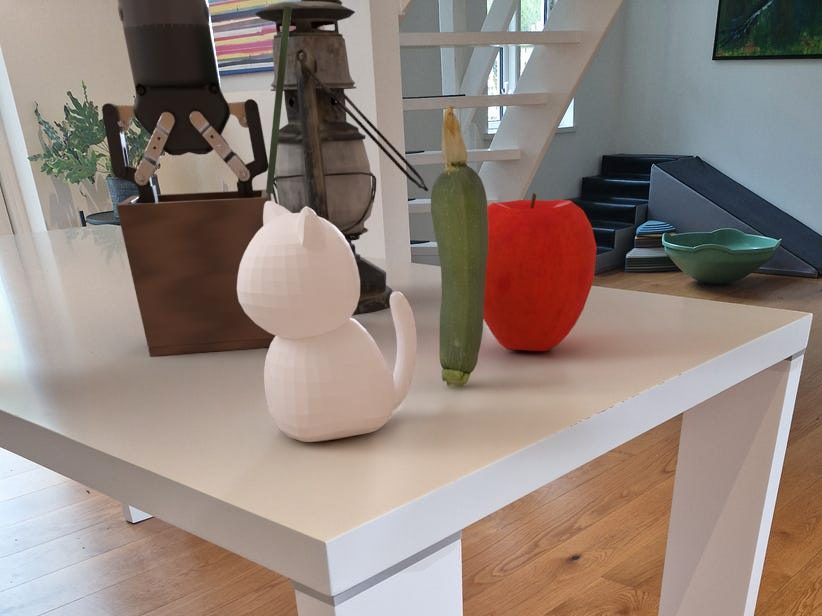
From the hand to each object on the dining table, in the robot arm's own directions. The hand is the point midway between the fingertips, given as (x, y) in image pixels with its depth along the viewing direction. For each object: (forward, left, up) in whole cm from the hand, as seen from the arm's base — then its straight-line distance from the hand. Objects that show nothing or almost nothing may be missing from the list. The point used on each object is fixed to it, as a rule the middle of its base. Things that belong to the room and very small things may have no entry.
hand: (202, 226), depth 85 cm
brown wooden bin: (0, 0, -11) cm, 11 cm away
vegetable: (+21, -25, -11) cm, 34 cm away
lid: (+8, 0, +10) cm, 13 cm away
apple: (+29, -15, -11) cm, 34 cm away
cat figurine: (+10, -33, -11) cm, 37 cm away
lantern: (+15, +15, -11) cm, 24 cm away
